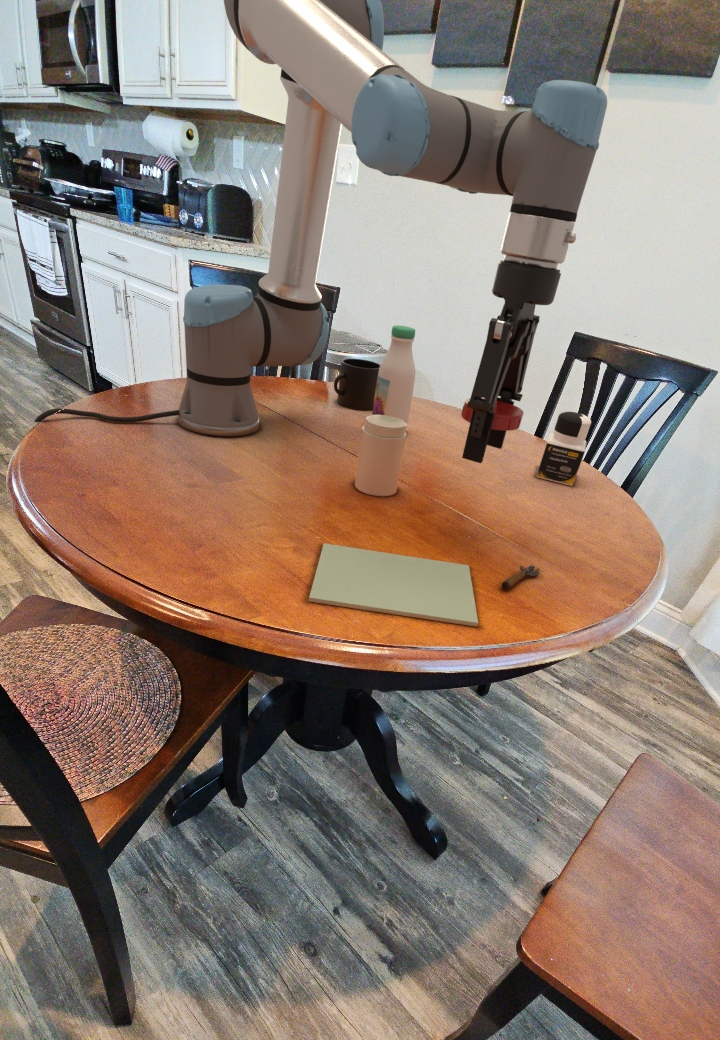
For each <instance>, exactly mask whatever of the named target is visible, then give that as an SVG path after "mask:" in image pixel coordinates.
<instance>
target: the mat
mask: <svg viewBox="0 0 720 1040" xmlns="http://www.w3.org/2000/svg"><path fill="white" fill-rule="evenodd" d="M308 602H310V603H316V604H323V605H329V606H337V607H343V608H348V609H349V608H350V609H355V610H362V611H370V612H376V613H383V614H384V613H385V614H390V615H397V616H402V617H410V618H416V619H422V620H430V621H436V622H442V623H449V624H456V625H463V626H469V627H478V626H479V619H478V612H477V607H476V606H477V605H476V600H475V593H474V588H473V583H472V576H471V569H470V565H469V564H463V563H456V562H450V561H443V560H437V559H431V558H430V559H429V558H425V557H424V558H423V557H417V556H412V555H411V556H410V555H403V554H397V553H390V552H384V551H378V550H371V549H370V550H369V549H364V548H358V547H351V546H345V545H338V544H331V543H323V544H322V548H321V552H320V556H319V560H318V562H317V566H316V570H315V575H314V578H313V581H312V586H311V589H310V593H309V596H308Z"/></svg>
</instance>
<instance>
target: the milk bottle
mask: <svg viewBox="0 0 720 1040" xmlns="http://www.w3.org/2000/svg"><path fill="white" fill-rule="evenodd" d="M415 337H416V329H415V328H414V327H410V326H406V325H400V324H398V325H393V326H392V328H391V336H390V339H391V343H390V345H389V348H388V350H387V352H386V354H385V355H384V357H383V359H382V360H381V363H380V368H379V372H378V378H377V384H376V391H375V398H374V405H373V409H372V412H371V415H387V416H392V417H396V418H398V419H401V420H403V421H404V422H405V423H406V427H405V433H407V428H408V423H409V418H410V417H409V416H410V412H411V405H412V401H413V393H414V388H415V381H416V364H415V360H414V356H413V342H415Z"/></svg>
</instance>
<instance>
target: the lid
mask: <svg viewBox="0 0 720 1040" xmlns="http://www.w3.org/2000/svg"><path fill="white" fill-rule="evenodd" d="M482 399H485V398H482ZM469 400H470V398H466V399H465V400H464V402H463V403H464V404H463V405H462V410H461V418H462V419H463V420H464V421H466V422H467V423H470V422H471V418H472V413H473V409H471V408H468V407H467V403H468V402H469ZM523 410H524V409H522V408H520V407H518V406H516V405H515V404H514V405H512V404H509V403H506V402H502V401H498V400H496V403H495V406H494V410H493V411H492V412H494V413H495V415H494V419H493V423H492V427H491V429H494V430H504V431H506V432H507V431H508V432H509V431H516V430H518V429H519V428H520V427H521V423H522V420H523V417H524V411H523Z"/></svg>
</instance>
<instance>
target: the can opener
mask: <svg viewBox="0 0 720 1040" xmlns="http://www.w3.org/2000/svg"><path fill="white" fill-rule="evenodd" d="M535 568H536V566H535V564H533V563H531V564H530V565H529V566H528V567H527V568H526V569H525V566H524V565H520V566H519V571H518V572H516V573H515V574H514V575H511V576H509V577H507V578H506V579H504V581H503V582H502V583H501V587H502V589H503V590H508V589H510V588H512V587H513V586H515V585H516V584H517V583H518V582H519V581H522V579H523V578H525V577H526V576H527V575H528V576H532V577H535V576H537V575H539V574H540V568H539V567H538V568H536V569H535Z"/></svg>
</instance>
